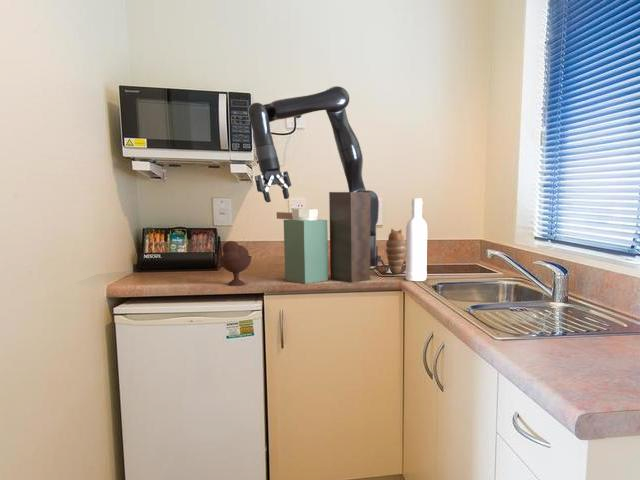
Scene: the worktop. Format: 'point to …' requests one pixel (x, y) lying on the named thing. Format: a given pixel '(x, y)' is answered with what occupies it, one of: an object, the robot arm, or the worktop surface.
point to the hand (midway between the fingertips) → (277, 200)
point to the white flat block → (299, 214)
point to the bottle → (416, 244)
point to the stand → (349, 236)
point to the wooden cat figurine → (395, 250)
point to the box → (306, 250)
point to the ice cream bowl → (235, 260)
